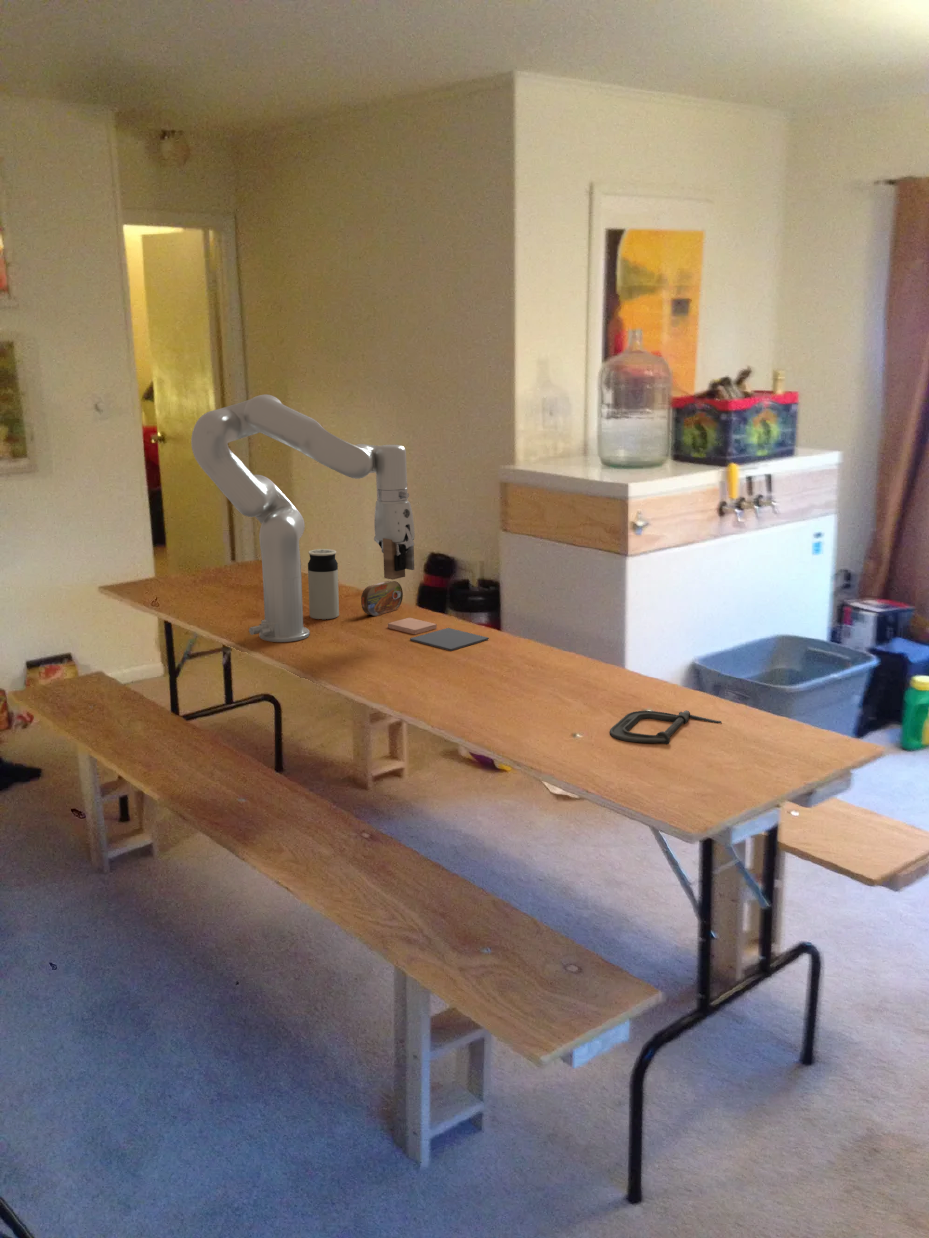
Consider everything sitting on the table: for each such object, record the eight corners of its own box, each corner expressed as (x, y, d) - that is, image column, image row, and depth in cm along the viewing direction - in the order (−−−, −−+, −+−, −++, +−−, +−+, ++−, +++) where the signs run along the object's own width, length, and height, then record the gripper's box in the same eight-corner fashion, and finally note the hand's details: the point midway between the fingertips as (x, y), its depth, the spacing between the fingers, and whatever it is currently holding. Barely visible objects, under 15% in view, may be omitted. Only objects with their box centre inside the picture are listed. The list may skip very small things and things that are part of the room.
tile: (415, 630, 273) (436, 624, 279) (387, 623, 279) (409, 617, 285) (415, 636, 273) (436, 630, 279) (387, 629, 280) (409, 623, 286)
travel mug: (336, 620, 287) (335, 554, 282) (307, 620, 287) (305, 554, 282) (340, 613, 294) (339, 548, 290) (312, 612, 295) (309, 548, 290)
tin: (367, 618, 289) (367, 588, 287) (359, 617, 291) (358, 586, 289) (404, 608, 300) (403, 578, 298) (395, 606, 302) (395, 577, 300)
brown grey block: (399, 580, 263) (398, 540, 260) (377, 576, 268) (375, 537, 266) (414, 577, 267) (413, 537, 264) (392, 573, 272) (390, 534, 269)
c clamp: (641, 709, 220) (641, 696, 219) (721, 725, 211) (722, 712, 210) (597, 738, 204) (597, 725, 203) (682, 757, 195) (683, 743, 194)
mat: (450, 650, 259) (450, 649, 259) (410, 640, 268) (410, 638, 268) (488, 639, 269) (488, 637, 269) (448, 629, 278) (448, 627, 278)
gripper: (426, 496, 259) (428, 570, 264) (380, 491, 270) (382, 562, 275) (405, 500, 254) (407, 576, 259) (358, 495, 265) (361, 567, 269)
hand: (394, 568), depth 267 cm, fingers closed on brown grey block, 3 cm apart
